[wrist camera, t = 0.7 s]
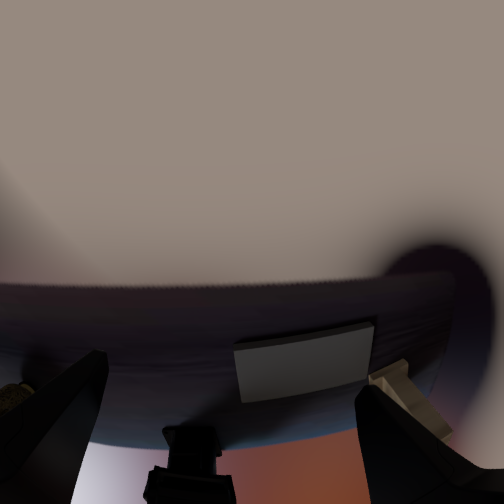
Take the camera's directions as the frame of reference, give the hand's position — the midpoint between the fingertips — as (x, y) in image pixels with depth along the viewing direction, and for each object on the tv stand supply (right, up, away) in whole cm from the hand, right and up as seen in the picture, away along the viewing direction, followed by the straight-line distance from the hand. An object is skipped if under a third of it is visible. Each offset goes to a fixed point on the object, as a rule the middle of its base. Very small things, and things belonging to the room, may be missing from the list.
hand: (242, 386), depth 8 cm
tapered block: (+17, -12, +21) cm, 30 cm away
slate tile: (+6, -7, +19) cm, 21 cm away
